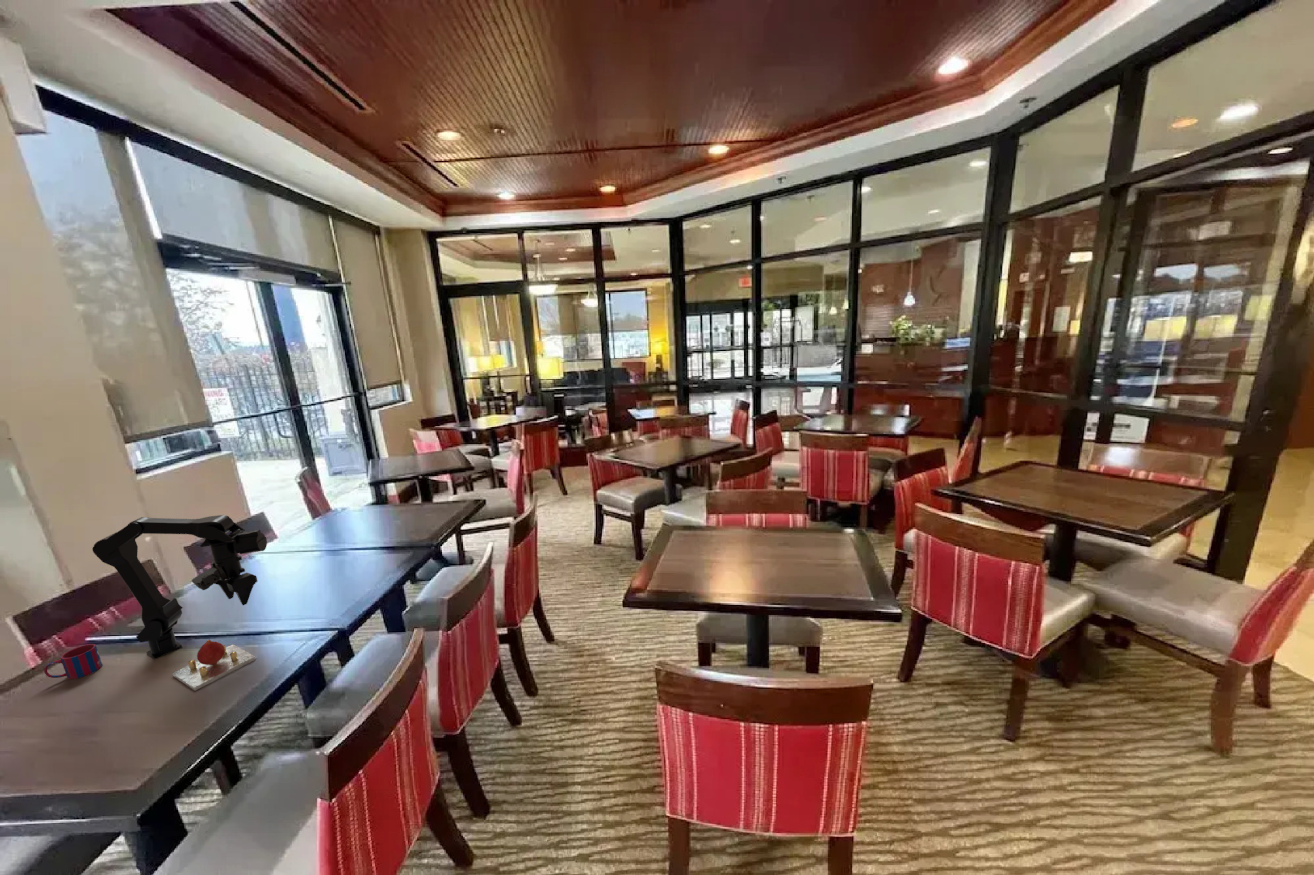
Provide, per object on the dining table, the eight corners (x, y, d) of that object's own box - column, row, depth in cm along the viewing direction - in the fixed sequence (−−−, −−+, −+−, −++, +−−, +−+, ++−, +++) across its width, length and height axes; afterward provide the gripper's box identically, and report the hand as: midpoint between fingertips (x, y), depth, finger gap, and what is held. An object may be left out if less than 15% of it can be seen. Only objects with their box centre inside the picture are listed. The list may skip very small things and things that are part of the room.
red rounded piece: (197, 674, 135) (189, 649, 133) (205, 662, 140) (198, 638, 138) (223, 666, 137) (216, 642, 135) (230, 655, 142) (223, 631, 141)
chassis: (173, 676, 136) (169, 665, 135) (233, 647, 148) (230, 637, 147) (194, 690, 129) (191, 679, 129) (255, 659, 141) (253, 648, 141)
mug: (102, 670, 140) (95, 649, 139) (48, 689, 133) (40, 668, 132) (103, 660, 145) (96, 640, 143) (51, 678, 138) (43, 658, 136)
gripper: (178, 562, 145) (192, 608, 149) (206, 573, 137) (219, 622, 140) (224, 547, 155) (235, 590, 158) (252, 557, 146) (263, 602, 150)
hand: (237, 601), depth 151 cm, fingers open, 9 cm apart
